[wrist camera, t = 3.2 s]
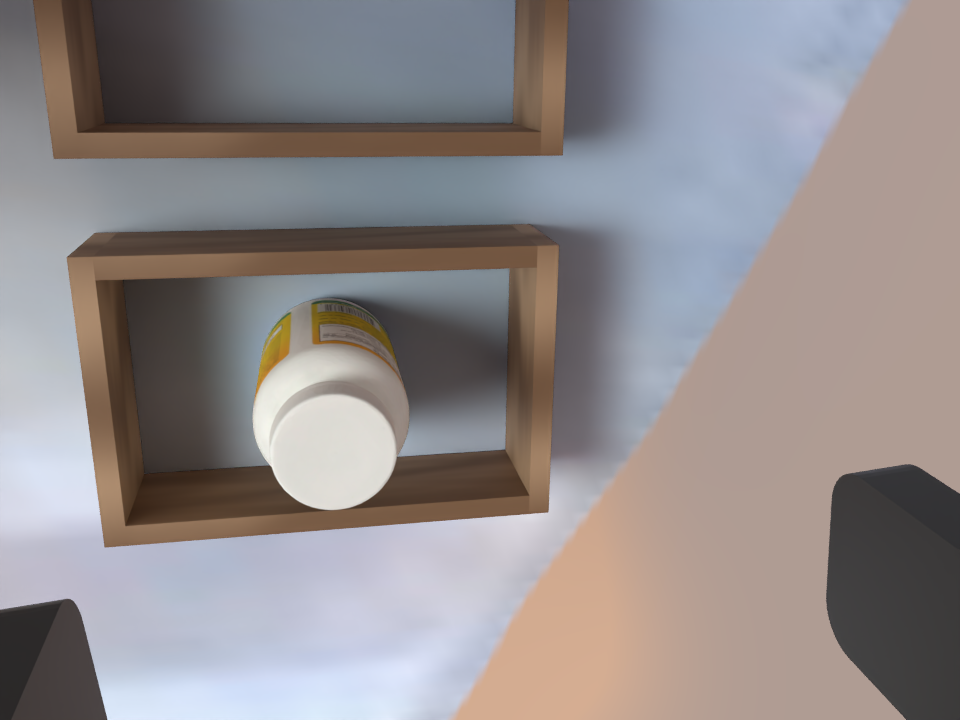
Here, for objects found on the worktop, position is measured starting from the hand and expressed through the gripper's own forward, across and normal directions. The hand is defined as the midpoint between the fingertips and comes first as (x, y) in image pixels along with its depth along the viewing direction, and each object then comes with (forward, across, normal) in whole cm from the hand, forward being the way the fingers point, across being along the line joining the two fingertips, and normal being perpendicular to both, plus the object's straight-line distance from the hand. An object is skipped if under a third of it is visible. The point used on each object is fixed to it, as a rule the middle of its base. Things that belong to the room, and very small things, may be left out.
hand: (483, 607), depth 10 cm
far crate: (+28, +2, +6) cm, 29 cm away
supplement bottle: (+28, +1, +6) cm, 29 cm away
